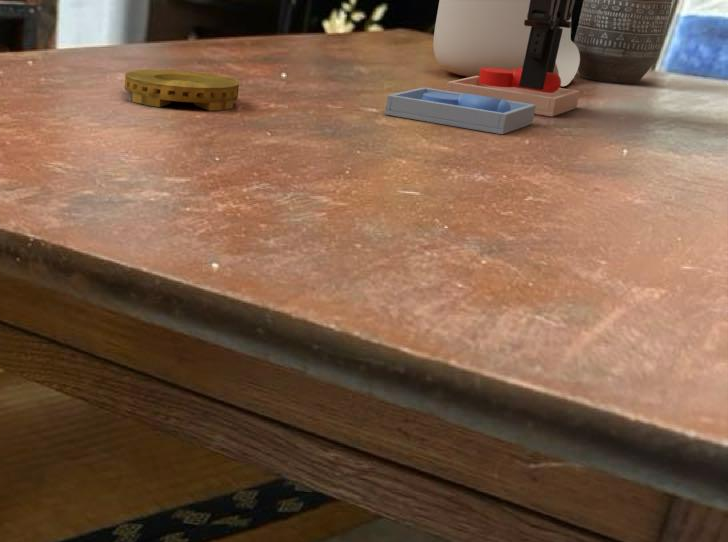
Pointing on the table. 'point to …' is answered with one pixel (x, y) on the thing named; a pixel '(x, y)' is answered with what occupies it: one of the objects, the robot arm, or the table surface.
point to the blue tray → (458, 112)
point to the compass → (181, 88)
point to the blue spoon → (470, 101)
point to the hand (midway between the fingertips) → (534, 86)
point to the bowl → (492, 38)
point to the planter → (620, 38)
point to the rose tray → (520, 95)
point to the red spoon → (515, 79)
